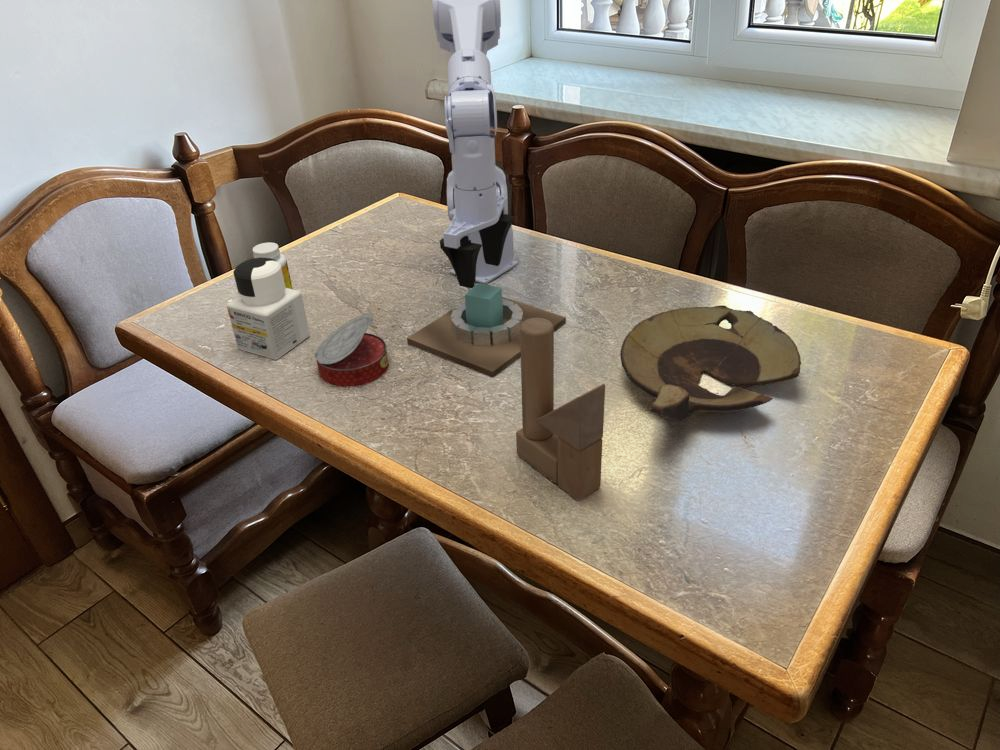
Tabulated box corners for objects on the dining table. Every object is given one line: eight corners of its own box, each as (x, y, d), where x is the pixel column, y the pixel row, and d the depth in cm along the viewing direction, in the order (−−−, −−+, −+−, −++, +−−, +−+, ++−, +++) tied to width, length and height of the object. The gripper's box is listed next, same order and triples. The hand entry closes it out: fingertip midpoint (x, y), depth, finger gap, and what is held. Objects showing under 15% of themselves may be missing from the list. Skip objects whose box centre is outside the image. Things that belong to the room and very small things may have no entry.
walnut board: (483, 295, 126) (483, 290, 125) (565, 323, 117) (565, 317, 117) (407, 343, 114) (406, 337, 113) (493, 377, 106) (492, 371, 105)
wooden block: (578, 502, 85) (581, 365, 75) (515, 455, 92) (511, 323, 82) (602, 487, 86) (608, 351, 76) (539, 442, 94) (537, 312, 84)
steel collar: (481, 304, 121) (481, 291, 120) (536, 322, 116) (536, 309, 114) (437, 332, 114) (436, 319, 113) (493, 353, 109) (493, 340, 108)
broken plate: (831, 381, 102) (843, 331, 98) (680, 480, 87) (687, 426, 83) (697, 319, 117) (703, 273, 113) (549, 394, 102) (549, 345, 98)
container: (236, 349, 114) (215, 270, 107) (272, 325, 120) (254, 248, 113) (276, 361, 111) (257, 280, 104) (311, 336, 117) (295, 257, 110)
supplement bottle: (301, 305, 125) (289, 247, 119) (270, 317, 122) (256, 258, 117) (286, 294, 129) (273, 237, 123) (255, 305, 126) (240, 247, 120)
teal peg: (479, 318, 117) (477, 282, 114) (503, 323, 116) (501, 287, 113) (467, 330, 114) (464, 294, 111) (491, 335, 113) (489, 299, 110)
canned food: (366, 414, 108) (336, 379, 99) (316, 384, 112) (284, 349, 104) (414, 352, 111) (389, 313, 103) (364, 325, 116) (336, 287, 107)
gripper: (475, 163, 110) (480, 250, 118) (420, 197, 100) (429, 291, 107) (519, 169, 107) (521, 258, 115) (467, 205, 97) (473, 300, 104)
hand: (480, 274), depth 111 cm, fingers open, 7 cm apart
